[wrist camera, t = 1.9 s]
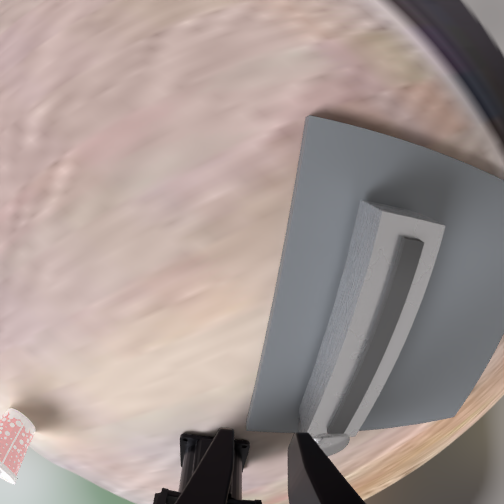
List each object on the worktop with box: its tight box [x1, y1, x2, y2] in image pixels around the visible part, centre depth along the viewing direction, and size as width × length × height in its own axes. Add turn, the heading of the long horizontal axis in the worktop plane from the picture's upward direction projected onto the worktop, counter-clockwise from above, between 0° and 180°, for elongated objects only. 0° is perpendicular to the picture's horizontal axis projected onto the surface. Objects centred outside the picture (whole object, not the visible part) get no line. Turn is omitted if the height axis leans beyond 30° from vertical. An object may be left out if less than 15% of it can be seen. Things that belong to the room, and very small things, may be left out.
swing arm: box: [297, 200, 445, 456], centre depth 18 cm, size 19×4×3 cm, turn 172°
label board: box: [246, 115, 504, 433], centre depth 20 cm, size 24×23×1 cm
